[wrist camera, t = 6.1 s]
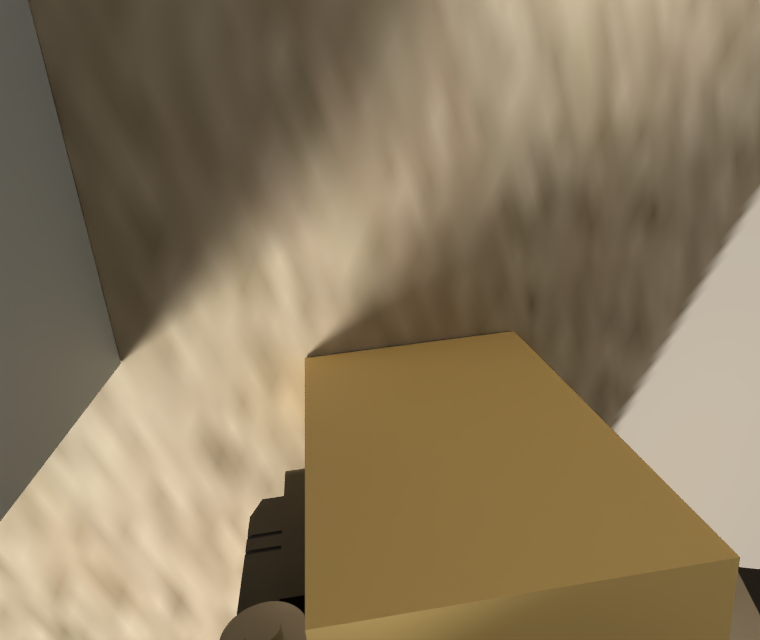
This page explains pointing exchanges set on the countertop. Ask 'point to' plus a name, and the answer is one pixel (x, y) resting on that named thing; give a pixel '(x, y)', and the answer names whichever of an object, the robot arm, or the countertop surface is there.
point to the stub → (490, 508)
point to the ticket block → (41, 270)
